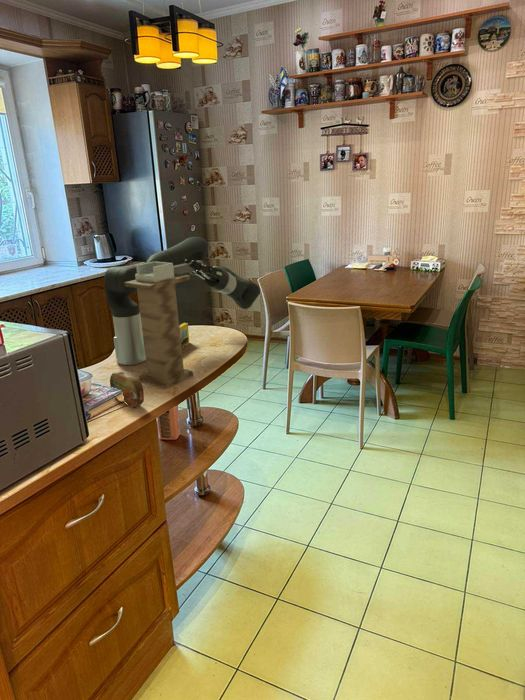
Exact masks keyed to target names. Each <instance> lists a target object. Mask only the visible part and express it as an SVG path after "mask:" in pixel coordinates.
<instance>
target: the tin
mask: <svg viewBox="0 0 525 700" xmlns="http://www.w3.org/2000/svg"><path fill="white" fill-rule="evenodd" d="M109 378H110V379H109V386H110V388H111V387H113V388H117V389H119V390H121V391H122V392H123V396H124V400H125V402H126V403H127V404H128V405H129V406H131V407H133V408H134V409H135V407H138V406H141V405H142V404H143V403H144V402H145V401H144V400H145V394H144V392H145V391H144V388H143V385H142V383H141V381H140V380H139V379H138V378H136V377H134V376H133V375H130V374H129V373H125V372H123V371H118V372H114V373H112V374H111V375H110V377H109ZM129 406H128V407H129ZM131 407H130V408H131Z"/></svg>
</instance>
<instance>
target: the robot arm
mask: <svg viewBox="0 0 525 700" xmlns="http://www.w3.org/2000/svg"><path fill="white" fill-rule="evenodd" d="M208 249H209V243H208V241H207V240H206V239H205V238H203V237H200V236H191V237H188V238H185V239H184V240H182V241H181V242H179V243H178V244H177V243H176V245H173V246H171V247H168V248H167V249H164V250H161V251H158V252H156V253H154V254H152V255H150V256H149V257H148V258H147V260H146V262H145V263H150V262H154V261H155V262H166V263H173V266H175V265H179V264H184V263H188V262H191V267H192V268H194V269H196V271H192V272H188V273H189V274H190V275H191V276H198V277H199V278H201V279H203V280H204V282H205V285H206V286H207V287H208V288H210V289H213V290H215V291H217V292H219V293H221V294H224V295H226V296H228V297H230V298H231V299H232V300H233V301H234V302H235V304H236V305H237V306H238V307H239V308H241V309H242V310H247V309H248V310H249V308H251V307H252V306H253V304H254V303H255V301H256V300H257V298H258V297H259V296H260V294H261V288H260V286H259V285H258V283H255V282H252V281H250V280H247V279H245V278H242V277H240V275H238V274H236V273H235V272H233V271H232V270H231V269H230V268H228V267H226V266H221V265H218V266H217V265H212V266H211V265H209V264H208V263H206V258H207V254H208ZM197 260H199V261H203V264H200V263H198V262H196V261H197ZM135 274H137V268H136V266H132V267H129V266H111V267H109V268H108V269H106V271H105V272H104V276H103V286H104V291H105V292H104V293H105V295H106V300H107V305H108V307H109V310H110V311H111V316H112V322H113V328H114V336H113V345H114V350H115V351H114V352H115V357H116V364H118V365H119V364H120V365H123V366H133V365H139V364H142V363H144V362H146V355H145V347H144V340H143V332H142V324H141V317H140V309H139V303H137V302H135V301H134V300H132V299H131V298H130V296H131V295H132V296H133V295H135V294H137V288H133V287H126V286H125V282H128V281H132V280H136V278H135Z"/></svg>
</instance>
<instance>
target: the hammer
mask: <svg viewBox="0 0 525 700" xmlns="http://www.w3.org/2000/svg"><path fill="white" fill-rule="evenodd" d="M196 262H198V263H200V264H203V261H199V260H197V261H196ZM135 267H136V268H137V274H135V278H136V281H141V282H148V283H157V282H161V281H165V280H169V279H173V278H174V276H176V275H185V274H187V273H189V272H192V271H196V269H194V268H192V267H191V262H188V263H183V264H179V265H175V266H173V263H166V262H155V261H154V262H150V263H146V262H145V263H141V264H136V265H135Z"/></svg>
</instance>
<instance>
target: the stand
mask: <svg viewBox="0 0 525 700" xmlns="http://www.w3.org/2000/svg"><path fill="white" fill-rule="evenodd" d="M189 280H191V278H190V275H189V274H187V275H186V274H180V275H176V276H174V278H173V279H169V280H165V281H161V282H157V283H148V282H141V281H136V280H132V281H128V282H125V286H126V287H133V288H137V293H136V294H137V300H138V305H139V309H140V317H141V324H142V332H143V340H144V347H145V355H146V360H145V362H146V369H147V372H146V373H143V374H141V375H139V377H138V378H139V379H138V380H139V381H140V382H142V381H143V383H146V384H148V383H149V384H150V385H152V386H155V387H158V388H161V389H168V388H171V387H173V386H175V385H177V384H179V383H181V382H183V381H185V380H187V379H189V378H192V377H194V371H193V370H192V369H191V370H190V369H186V368H184V361H183V347H182V348H181V338H180V328H179V326H180V320H179V311H178V302H177V301H178V300H177V299H178V298H177V293H176V292H177V291H176V284H178V283H182V282H186V281H189ZM149 384H148V385H149Z"/></svg>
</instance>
